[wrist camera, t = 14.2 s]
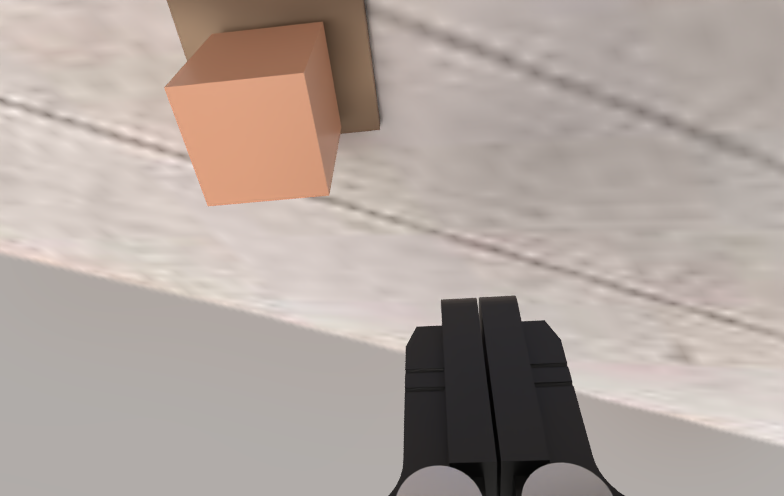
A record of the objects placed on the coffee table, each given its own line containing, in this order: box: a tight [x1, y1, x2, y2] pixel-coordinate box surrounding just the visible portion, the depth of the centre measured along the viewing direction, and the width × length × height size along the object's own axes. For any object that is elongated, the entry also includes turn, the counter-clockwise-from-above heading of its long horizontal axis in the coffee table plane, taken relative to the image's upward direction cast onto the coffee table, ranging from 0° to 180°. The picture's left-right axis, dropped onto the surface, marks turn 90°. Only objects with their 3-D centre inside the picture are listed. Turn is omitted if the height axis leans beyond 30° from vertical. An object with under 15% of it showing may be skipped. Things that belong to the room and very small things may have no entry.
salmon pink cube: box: [164, 22, 341, 206], centre depth 24 cm, size 5×5×7 cm
